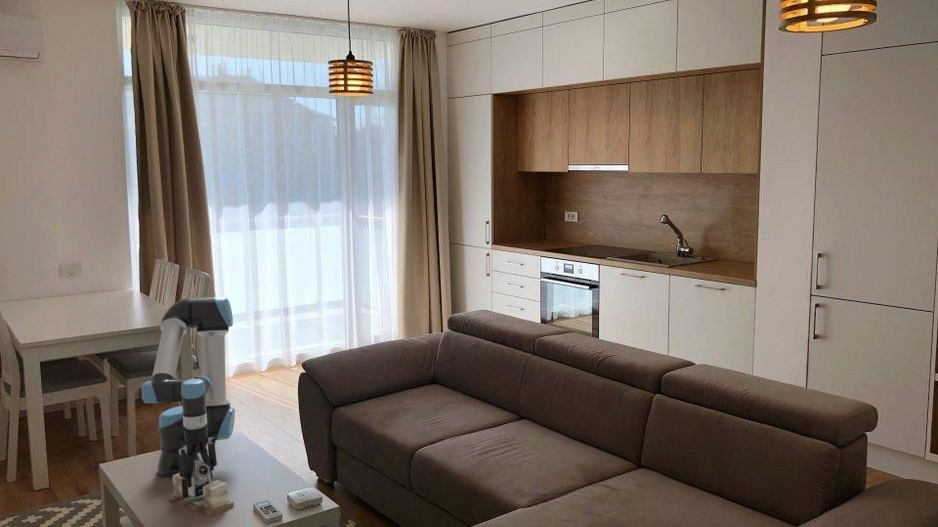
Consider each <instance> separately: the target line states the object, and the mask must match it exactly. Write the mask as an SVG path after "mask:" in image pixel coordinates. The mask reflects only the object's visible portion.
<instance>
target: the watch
mask: <svg viewBox="0 0 938 527" xmlns="http://www.w3.org/2000/svg"><path fill="white" fill-rule="evenodd" d="M209 473H210V467H209V466H208V465H207V464H206V463H204V462H203V460H202V459H201V460H198V461H195V462H194V468H193V473H192V477H194V481H195V497H198V496H201V495H203V486H205V485H207V484H209V483H210V482H207V481H208V478H209Z"/></svg>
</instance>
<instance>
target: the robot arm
mask: <svg viewBox="0 0 938 527" xmlns="http://www.w3.org/2000/svg"><path fill="white" fill-rule="evenodd" d="M233 320H234V318H233V311H232V306H231V303H230V300H229V299H228V297H226V296H206V297H185V298H182V299H180V300H178V301H176V302H175V303H174V304H172V305H171V306H170V307H169V308H168V309H167V310H166V312H165V313H164V314H163V317H162V318H161V322H160V326H159V329H160V331H161V335H160V340H159V344H158V349H157V354H156V356H155V357H156V358H155V362H154V365H153V366H154V367H153V372H152V376H151V380H148V381H144V382H143V383H142V386H141V398H142V401H143V402H144V403H145V404H162V403H174V402H175V403H176V402H178V403H179V402H181V404H182V405H178V406H175V407H171V408H168V409H167V410H165V411H163V412H162V413H161V414H160V415H159V420H158V427H159V437H160V438H159V439H160V448H161V449H160V456H159V459H158V464H157V468H156V469H157V474H158V475H160V476H162V477H170V478H173V475H175V474H178V473H180V477H182V478H186V486H187V487H188V494H189V495H191V496H193V497H194V496H195V481H194V477H192V473H193V468H194V462H195V461H198V460H200V457H201V461H202V462H204V463H206V464H207V465H208V466H209V467H210V473H209V478H208V481H207V482H210V483H212V479H213V471H215V467H217V465H218V462H217V455H216V454H217V452H216V442H218V441H223V440H228V439H230V438H231V436H232V435H233V431H234V427H235V426H234V424H235V417H236V415H235V414H236V413H235V412H236V411H235V408H234V407H233V406H232V407H231V402H229V400H227V395H226V394H227V389H226V381H227V380H226V339H225V338H226V337H225V336H226V335H227V334H228V333H229V332H230V329H229V328H231V327H233V325H234V322H233ZM188 329H196V334H197V335H198V336H200V344H201V346H200V348H201V350H200V351H201V353H200V355H201V357H200V358H201V375H196V376H195V377H193V378H183V379H176V374H177V369H178V365H179V359H180V353H181V350H182V349H181V348H182V344H183V339H184V336H185V335H186V333H187V332H188ZM199 454H200V456H199Z"/></svg>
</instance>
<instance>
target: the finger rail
mask: <svg viewBox="0 0 938 527" xmlns="http://www.w3.org/2000/svg"><path fill="white" fill-rule="evenodd" d="M172 483H173V484H172V485H173V493H172V494H169V495H168V501H170V502H173V503H175V504H177V505H180V506H183V507H185V506H186V508H188V507H189V508H188V509H190V508H191V510H194V511H196V512H198V513H202V514H203V515H206V516H209V517H213V516H216V515H218V514H220V513H223V512H224V511H226V510H229V509H231V508H233V507H234V504H235V503H234V502H233V501H232V500H229V499H228V483H227V482H224V481H222V480H219V479H217V480H214V481H211V483H209V484H207V485H205V486H203V495H201V496H198V497H195V496H194V497H193V496H191V495H189V494H188V487H187V486H186V478H182V477H180V473H178V474H175V475H173V477H172Z"/></svg>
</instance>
